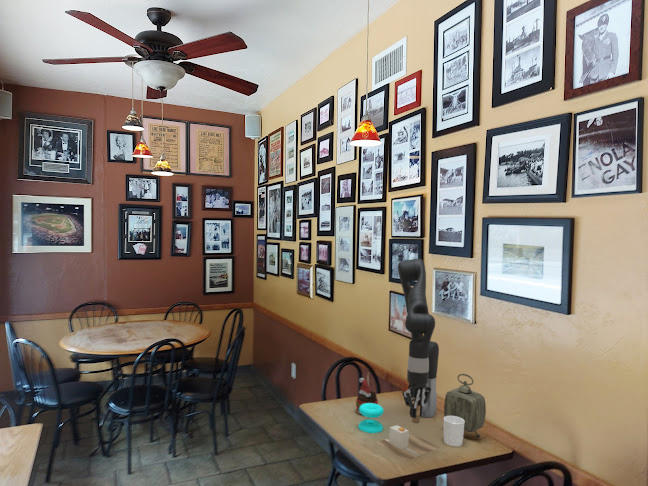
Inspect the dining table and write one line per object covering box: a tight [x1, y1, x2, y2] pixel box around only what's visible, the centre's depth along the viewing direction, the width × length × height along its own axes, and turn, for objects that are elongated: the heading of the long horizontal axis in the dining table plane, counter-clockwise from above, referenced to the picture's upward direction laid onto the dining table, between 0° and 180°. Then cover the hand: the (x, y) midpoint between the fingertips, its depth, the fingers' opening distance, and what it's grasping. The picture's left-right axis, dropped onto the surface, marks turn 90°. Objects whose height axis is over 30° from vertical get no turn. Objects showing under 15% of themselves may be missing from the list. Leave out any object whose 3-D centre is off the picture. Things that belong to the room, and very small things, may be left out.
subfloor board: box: [375, 432, 440, 461], centre depth 166 cm, size 18×16×1 cm
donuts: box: [358, 403, 385, 434], centre depth 180 cm, size 10×10×10 cm
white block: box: [388, 425, 410, 449], centre depth 165 cm, size 4×6×7 cm, turn 38°
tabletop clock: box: [443, 373, 487, 439], centre depth 179 cm, size 14×9×25 cm, turn 43°
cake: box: [355, 372, 379, 415], centre depth 199 cm, size 11×9×18 cm
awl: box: [411, 402, 421, 424], centre depth 159 cm, size 3×3×9 cm
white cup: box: [442, 416, 465, 447], centre depth 170 cm, size 8×8×10 cm
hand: (415, 416), depth 159 cm, fingers closed on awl, 2 cm apart
